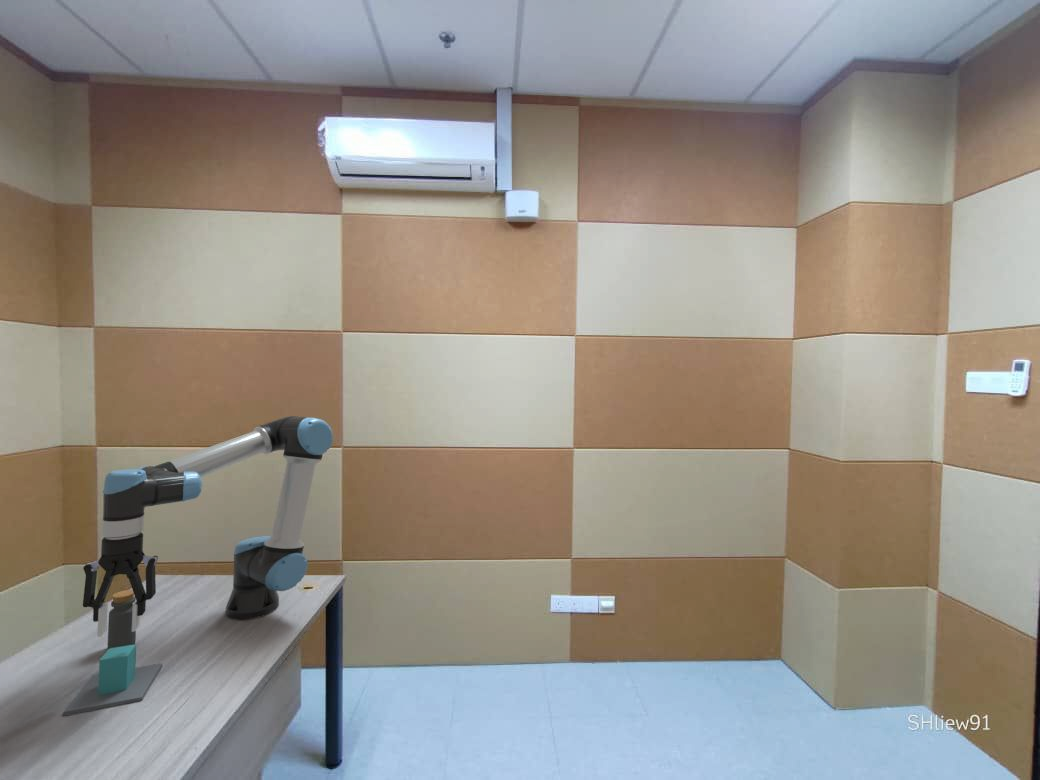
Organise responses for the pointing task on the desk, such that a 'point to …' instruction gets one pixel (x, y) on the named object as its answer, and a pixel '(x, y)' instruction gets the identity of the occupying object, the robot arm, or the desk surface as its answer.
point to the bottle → (121, 620)
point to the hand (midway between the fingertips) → (119, 631)
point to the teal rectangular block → (117, 669)
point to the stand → (134, 692)
